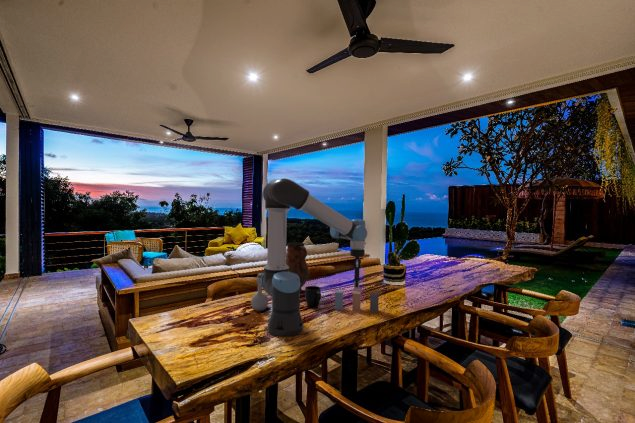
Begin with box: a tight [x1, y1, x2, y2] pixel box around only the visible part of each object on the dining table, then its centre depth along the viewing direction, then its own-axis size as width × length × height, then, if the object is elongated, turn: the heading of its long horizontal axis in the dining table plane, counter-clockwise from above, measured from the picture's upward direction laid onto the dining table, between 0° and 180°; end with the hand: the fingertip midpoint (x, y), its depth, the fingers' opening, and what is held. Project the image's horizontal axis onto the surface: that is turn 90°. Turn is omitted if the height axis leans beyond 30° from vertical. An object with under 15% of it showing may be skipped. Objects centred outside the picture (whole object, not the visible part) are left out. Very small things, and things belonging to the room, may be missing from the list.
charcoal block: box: [369, 291, 380, 314], centre depth 151 cm, size 4×4×9 cm
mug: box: [304, 285, 322, 308], centre depth 156 cm, size 8×12×10 cm
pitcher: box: [286, 242, 310, 295], centre depth 180 cm, size 17×21×30 cm
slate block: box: [334, 289, 344, 311], centre depth 153 cm, size 4×4×9 cm
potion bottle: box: [250, 272, 269, 312], centre depth 152 cm, size 9×9×18 cm
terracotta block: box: [351, 290, 362, 312], centre depth 152 cm, size 4×4×9 cm
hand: (356, 292), depth 158 cm, fingers closed
